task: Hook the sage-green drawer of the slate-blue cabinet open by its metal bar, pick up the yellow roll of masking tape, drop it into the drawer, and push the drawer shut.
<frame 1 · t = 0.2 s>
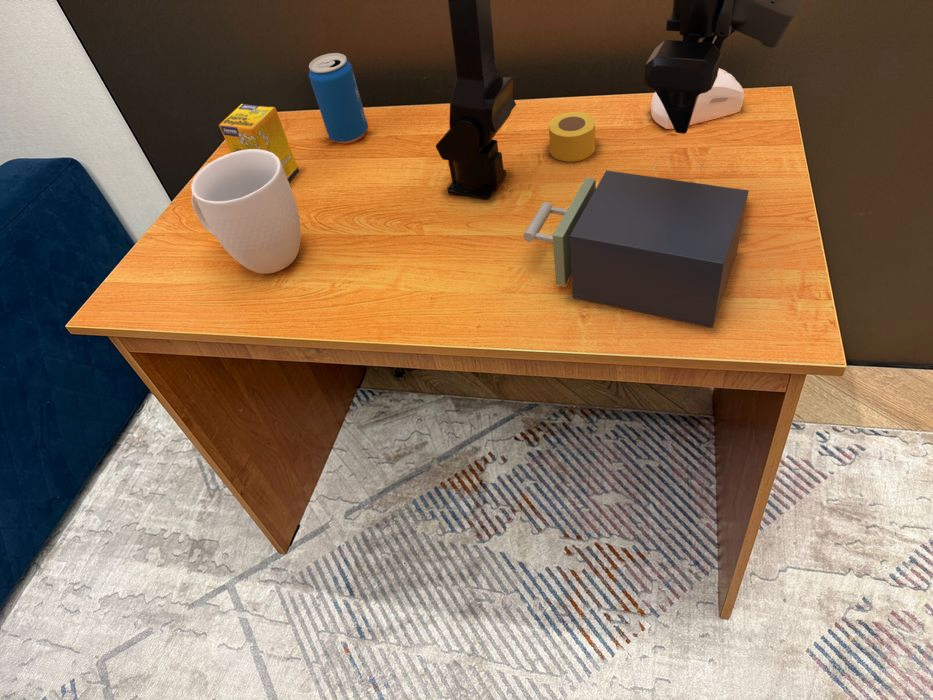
hand: (692, 109, 75), 15 cm above the table, tool pointing down, fingers open, 9 cm apart
supplement box: (274, 182, 105), on the table
mug: (267, 257, 93), on the table
tape: (572, 149, 99), on the table
cabinet: (654, 276, 80), on the table
beverage can: (349, 135, 111), on the table
computer mouse: (694, 112, 101), on the table
drawer: (612, 238, 78), point 5 cm above the table, slide at 1.0 cm
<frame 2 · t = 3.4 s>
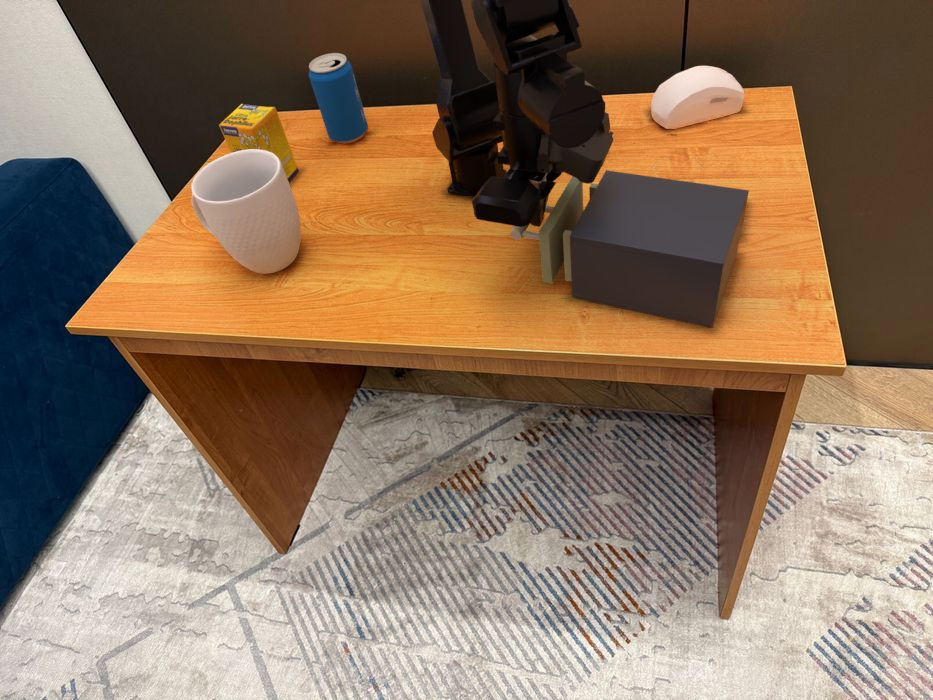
hand: (537, 224, 82), 5 cm above the table, tool pointing down, fingers closed, pressing on drawer
drawer: (598, 235, 79), point 5 cm above the table, slide at 2.6 cm, touching gripper
everything else where it was.
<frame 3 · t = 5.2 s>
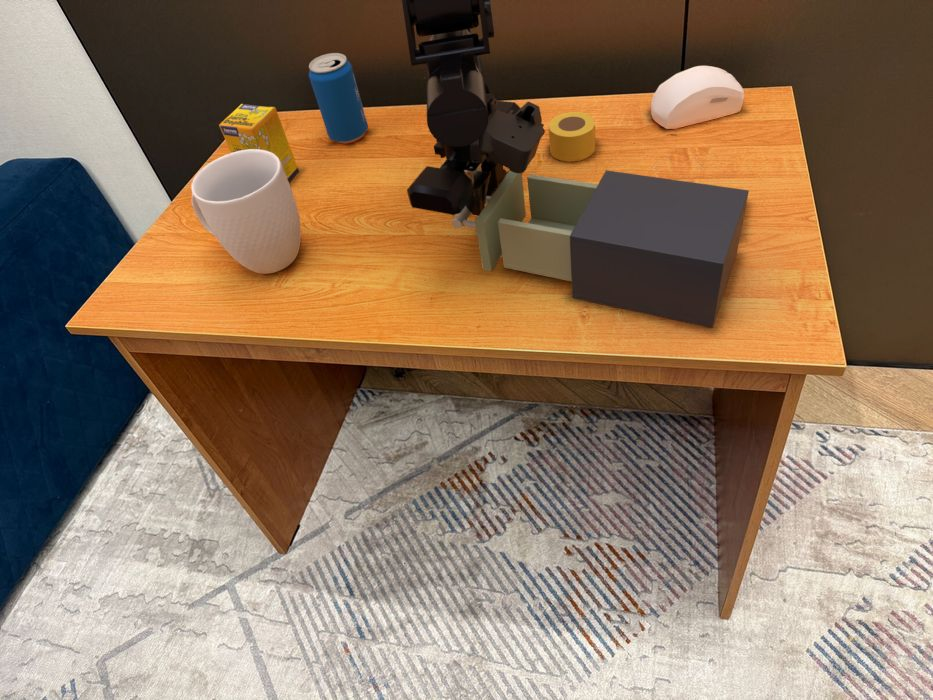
hand: (478, 213, 85), 5 cm above the table, tool pointing down, fingers closed, pressing on drawer
drawer: (535, 224, 82), point 5 cm above the table, slide at 10.3 cm, touching gripper
everything else where it was.
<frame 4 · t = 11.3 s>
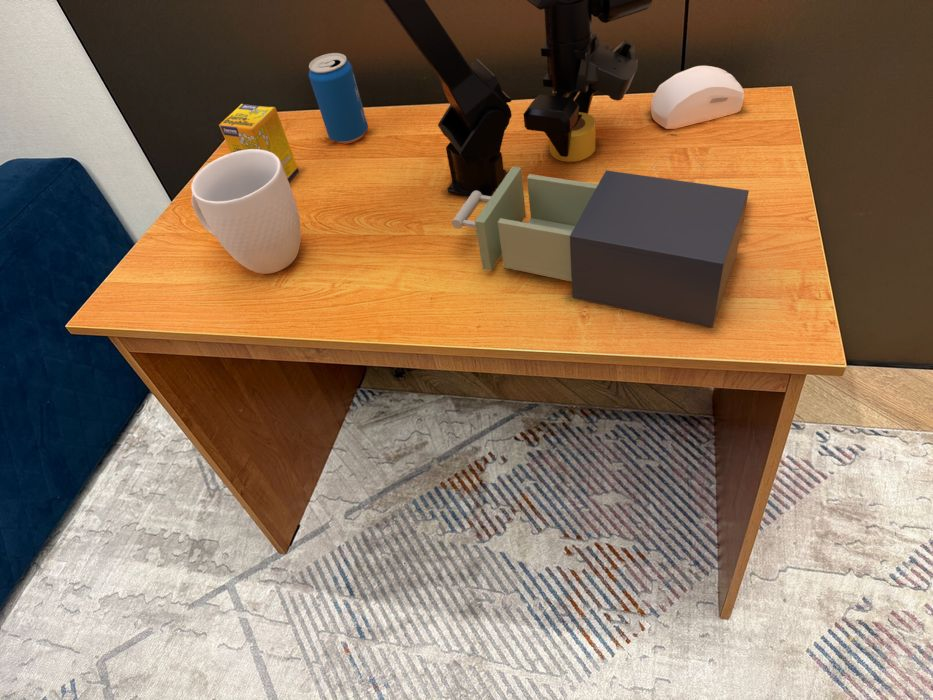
hand: (572, 142, 98), 1 cm above the table, tool pointing down, fingers closed on tape, 6 cm apart
tape: (572, 149, 99), on the table, touching gripper
drawer: (535, 224, 82), point 5 cm above the table, slide at 10.3 cm
everything else where it was.
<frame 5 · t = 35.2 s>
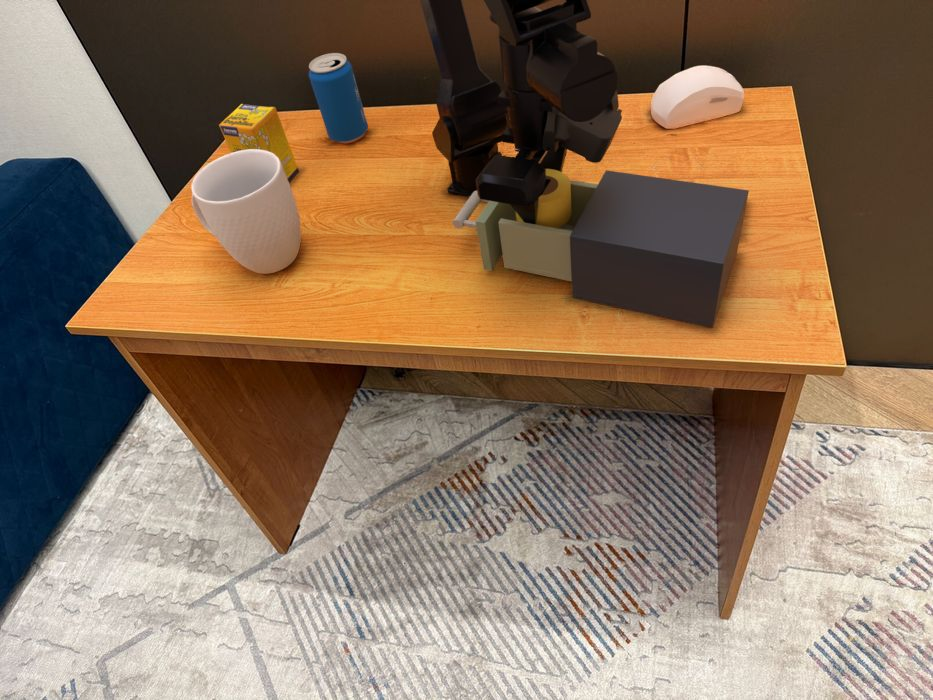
hand: (542, 206, 80), 7 cm above the table, tool pointing down, fingers closed on tape, 6 cm apart
tape: (543, 214, 80), point 6 cm above the table, touching gripper
drawer: (535, 224, 82), point 5 cm above the table, slide at 10.2 cm, touching gripper
everything else where it was.
when the fingers open (11 cm above the table, at t = 39.2 s): tape drops 8 cm, resting on drawer.
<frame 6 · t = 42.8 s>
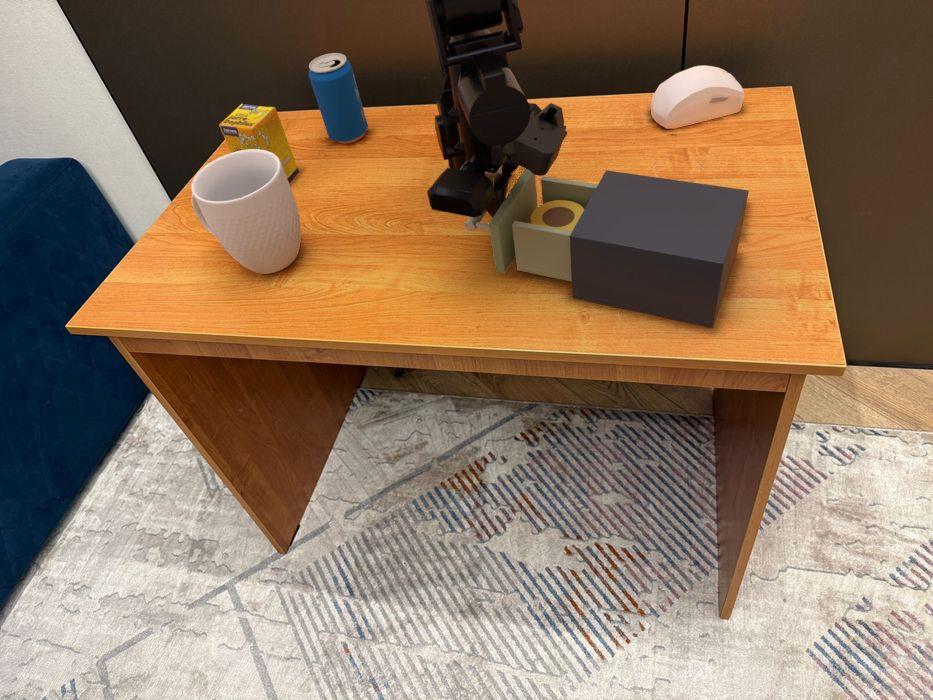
hand: (497, 216, 84), 5 cm above the table, tool pointing down, fingers closed
tape: (559, 243, 83), point 2 cm above the table, touching drawer
drawer: (549, 226, 81), point 5 cm above the table, slide at 8.6 cm, touching gripper, tape
everything else where it was.
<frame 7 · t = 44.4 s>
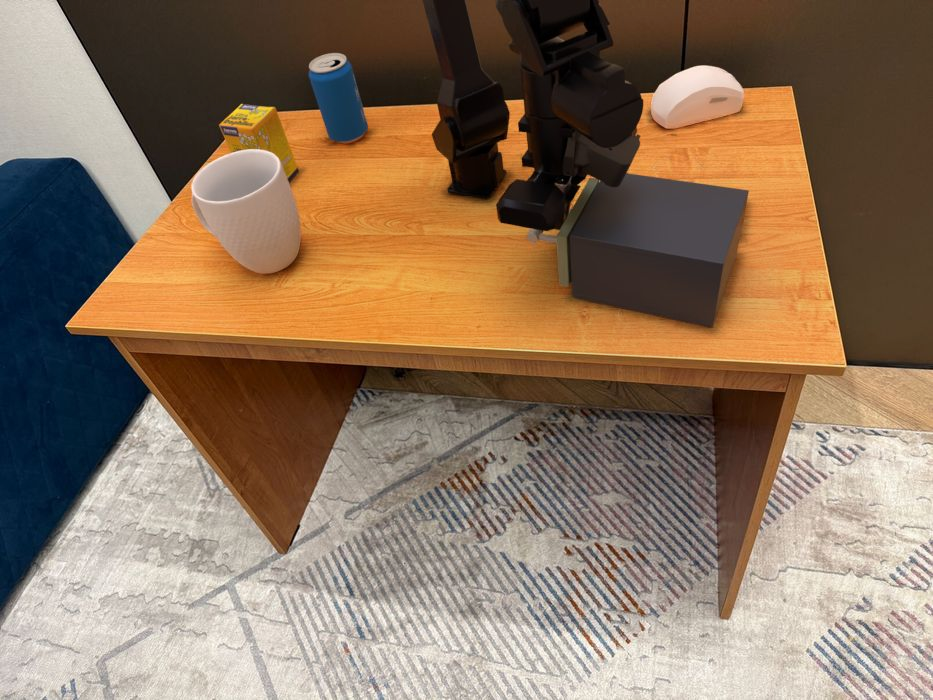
hand: (559, 228, 81), 5 cm above the table, tool pointing down, fingers closed, pressing on drawer
tape: (625, 256, 80), point 2 cm above the table, touching drawer
drawer: (615, 238, 78), point 5 cm above the table, slide at 0.6 cm, touching gripper, tape
everything else where it was.
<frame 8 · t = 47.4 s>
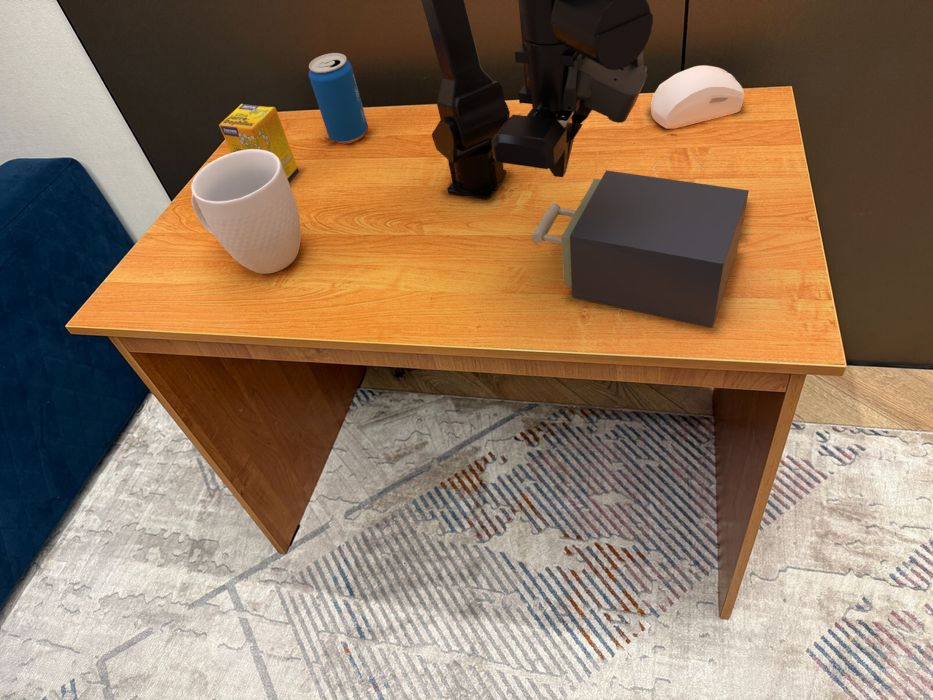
hand: (559, 175, 75), 12 cm above the table, tool pointing down, fingers closed
drawer: (620, 239, 78), point 5 cm above the table, slide at 0.0 cm, touching cabinet, tape
everything else where it was.
at the end: drawer pulled out 10.3 cm at the most during the clip, back to where it started at the end; tape inside the target area in the cabinet (2.9 cm from its centre), point 2.0 cm above the cabinet's base; drawer slide at 0.0 cm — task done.
